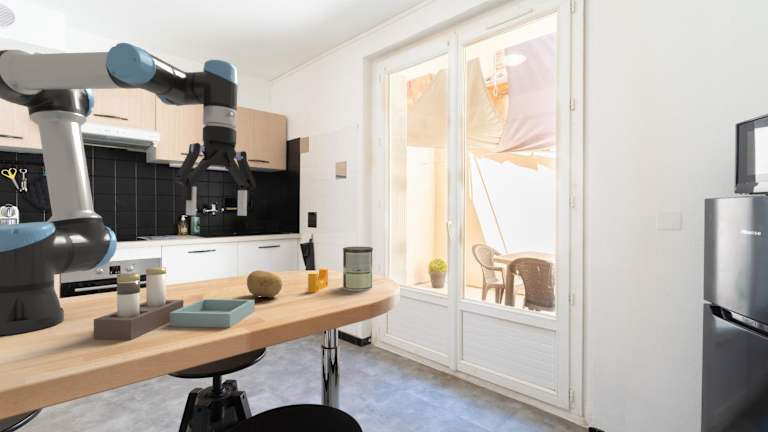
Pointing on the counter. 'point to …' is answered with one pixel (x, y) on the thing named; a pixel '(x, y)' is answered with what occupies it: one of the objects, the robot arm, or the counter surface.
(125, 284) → the fuse
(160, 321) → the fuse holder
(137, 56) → the robot arm
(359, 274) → the coffee can
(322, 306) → the counter surface
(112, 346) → the counter surface
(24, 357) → the counter surface
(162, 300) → the fuse
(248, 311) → the parts tray
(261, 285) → the potato
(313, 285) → the pipe clamp
